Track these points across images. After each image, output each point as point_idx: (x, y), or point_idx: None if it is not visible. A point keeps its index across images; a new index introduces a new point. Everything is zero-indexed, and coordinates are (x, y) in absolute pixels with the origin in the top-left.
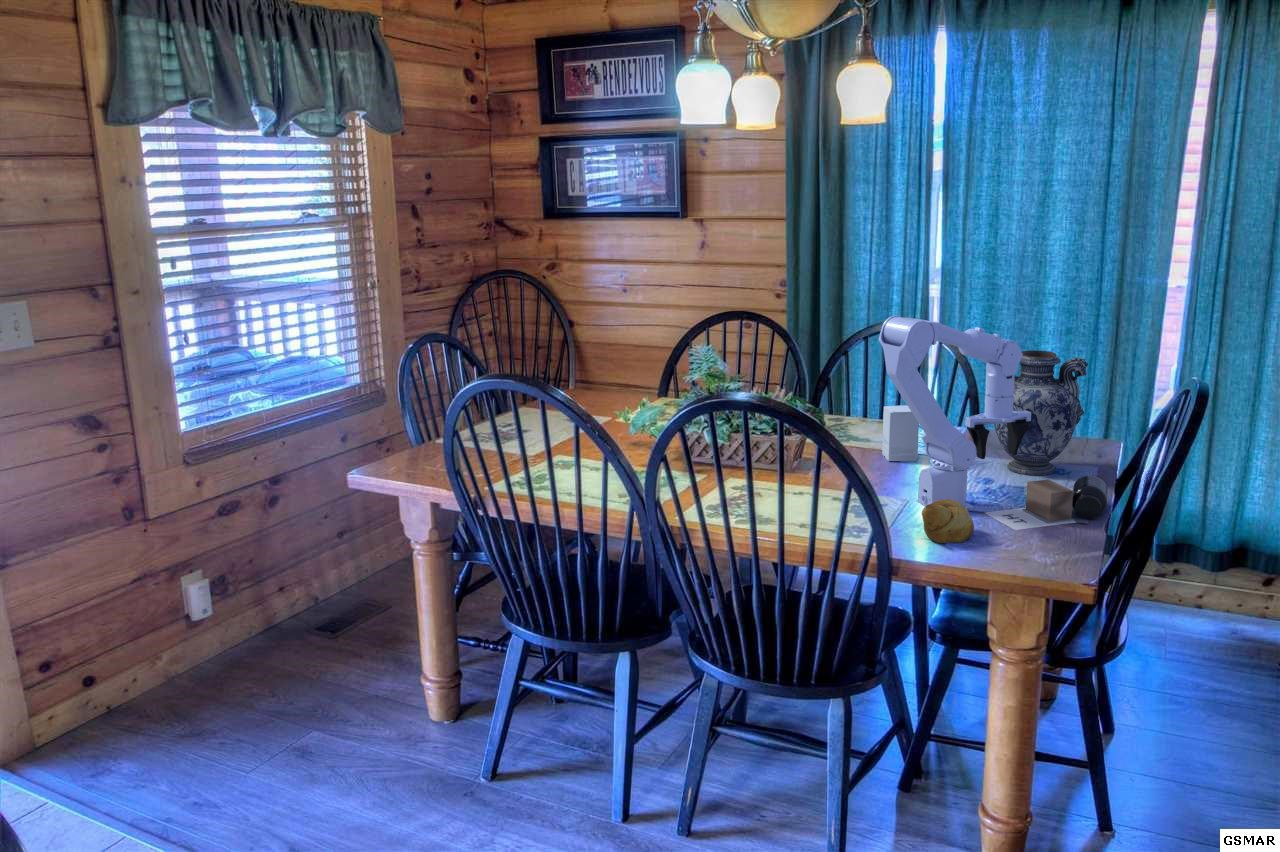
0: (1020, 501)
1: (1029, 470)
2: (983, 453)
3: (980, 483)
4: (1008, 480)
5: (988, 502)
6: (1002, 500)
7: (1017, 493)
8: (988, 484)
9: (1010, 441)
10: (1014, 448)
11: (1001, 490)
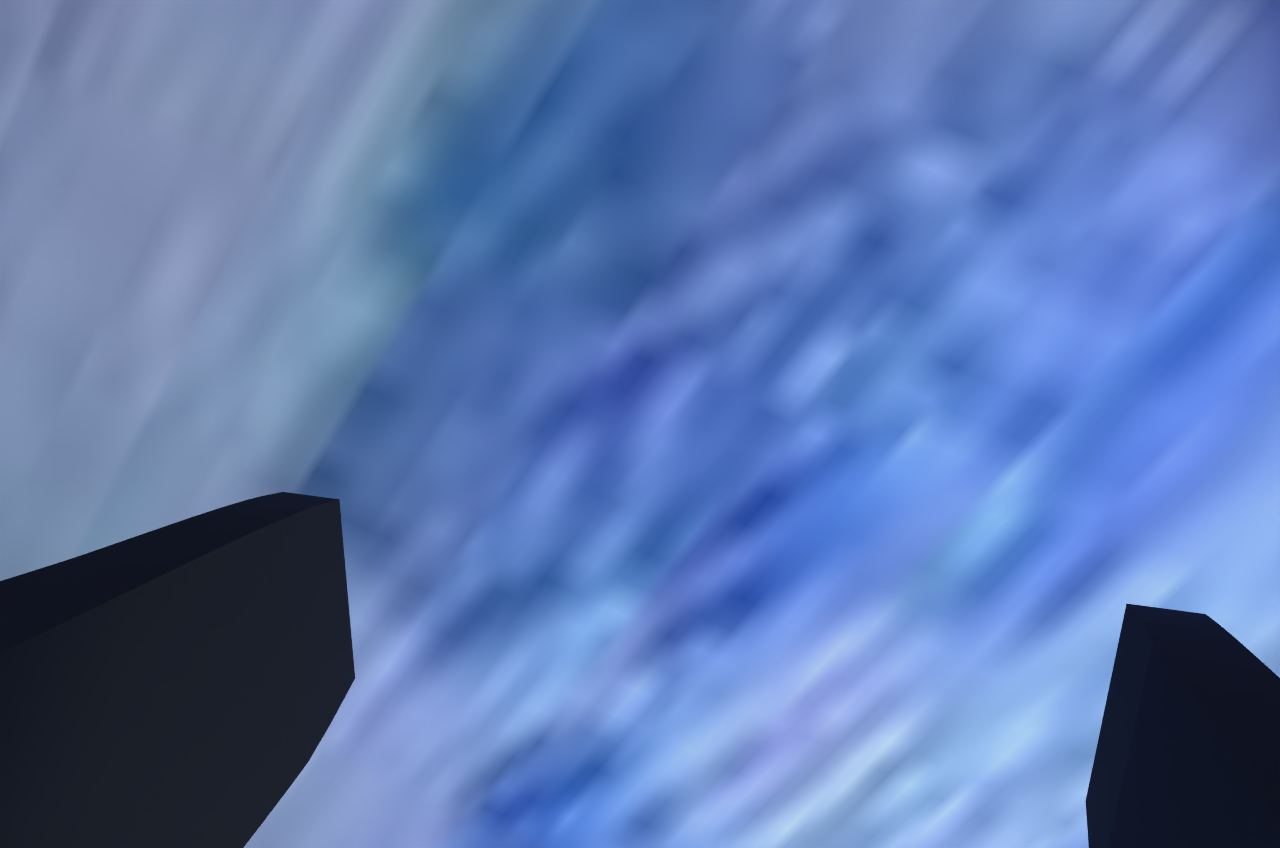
0: (600, 75)
1: None
2: (1254, 672)
3: (644, 790)
4: (328, 727)
5: (1024, 202)
6: (791, 201)
7: (463, 355)
8: (585, 729)
9: (179, 830)
10: (243, 572)
11: (572, 517)
